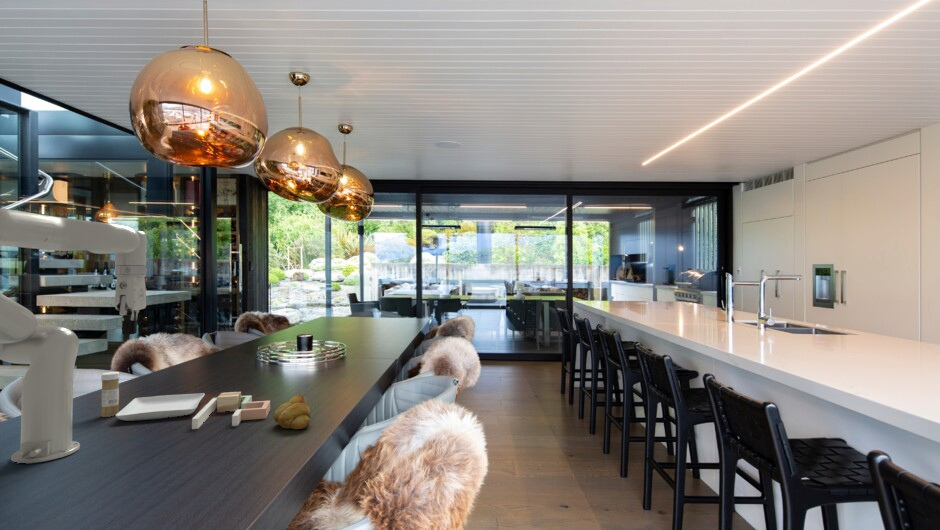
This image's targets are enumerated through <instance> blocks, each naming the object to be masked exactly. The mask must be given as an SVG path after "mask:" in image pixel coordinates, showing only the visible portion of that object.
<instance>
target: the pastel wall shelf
mask: <svg viewBox="0 0 940 530" xmlns="http://www.w3.org/2000/svg"><path fill="white" fill-rule="evenodd" d="M216 410H217V397H212V398H211V399H210V400H209V401H208V402H207V403H206V404H205V405H204V406H203V407H202V408H201V409H200V410H199V411H198V412H197V414H196V415H195V416H193V417H192V419H191V430H198V429H199V428H200V427H201V426H202V425H203V424H204V423H205V421H207V420H208V418H209V417H210V416H211V415H212V414H213V413H214V411H216ZM270 411H271V400H260V401H259V400H258V401H257V400H256V401H253V396H252V395H241V407H240V408H239V409H237V410H236V411H234V413H233V414H232V415H231V427H237V426H239V425H240V423H241V421H247V420H249V421H250V420H262V419H267V417H268V415H269V413H270ZM212 412H213V413H212ZM211 413H212V414H211ZM210 414H211V415H210ZM209 415H210V416H209ZM203 422H204V423H203Z"/></svg>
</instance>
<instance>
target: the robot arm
mask: <svg viewBox="0 0 940 530" xmlns="http://www.w3.org/2000/svg"><path fill="white" fill-rule="evenodd" d="M0 246H3V247H15V248H25V249H37V250H46V251H58V252H59V251H60V252H61V251H63V252H65V251H66V252H67V251H68V252H69V251H70V252H71V251H73V252H74V251H88V252H89V253H92V254H98V255H109V254H110V255H112V254H113V255H114V277H115V278H116V283H115V293H114V295H115V296H114V308H115V310H116V311H119V315H120V316H121V334H122V335H135V334H137V332H138V314H139V313H140V310H144V309H146V308H147V292H146V291H147V290H146V289H147V288H146V279H145V278H146V276H147V275H146V274H147V233H146V232H144V231H141V230H136V229H133V228H131V227H129V226H125V225H120V224H115V223H109V222H108V223H106V222H100V221H91V220H90V221H89V220H83V219H76V218H69V217H68V218H67V217H59V216H53V215H47V214H39V213H33V212H28V211H23V210H22V211H21V210H15V209H9V208H0ZM79 349H80V341H79V337H78V336H77V334H76V333H75V332H74V331H73V330H71V329H69V328H66V327H63V326H59V325H58V326H57V325H39V323H38V319H37V317H36V315H35V314H34V313H33V311H31V310H29V309H28V308H26V307H25V306H23V305H22V304H20V303H18V302H16V301H15V300H13V299H12V298H9V297H7V296H6V295H4V294H3V293H2V292H0V360H1V361H2V362H6V363H10V364H18V365H29V367H28V369H27V371H26V373H25V375H24V376H23V380H22V383H21V384H22V385H21V405H20V407H21V412H20V413H21V414H20V415H21V416H20V417H21V418H20V448H19V449H18V450H17V451H16V452H14V453H12V455H11V458H10V460H12V461H14V462H17V463H16V464H19V463H26V464H37V463H43V462H49V461H52V460H57V459H60V458H64V457H66V456H69V455H72V454H74V453H76V452H78V451H79V450H80V448H81V443H80V442H78V441H74V440H73V418H74V417H73V414H74V413H73V412H74V411H73V410H74V409H73V408H74V406H73V405H74V372H75V364H76V360H77V357H78V352H79ZM12 461H11V462H12ZM14 462H13V463H14Z"/></svg>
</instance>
